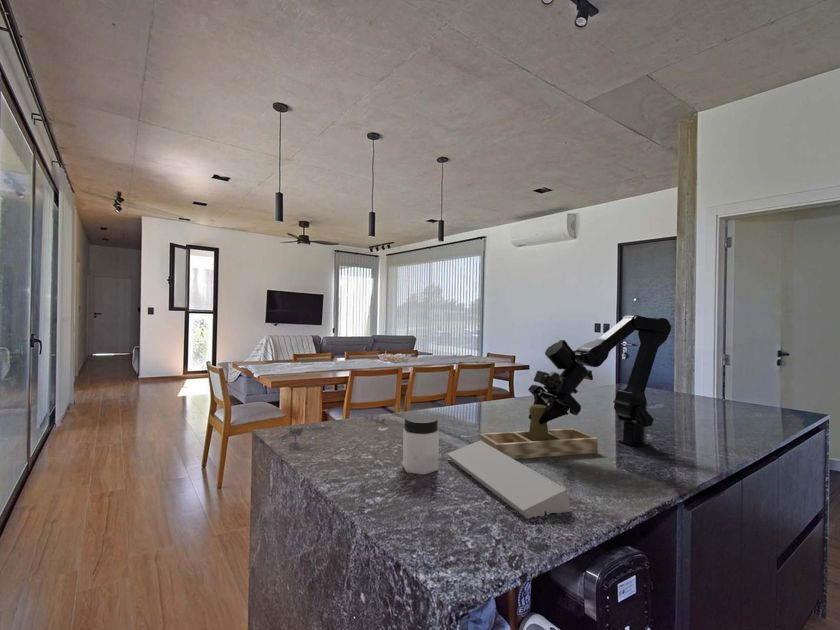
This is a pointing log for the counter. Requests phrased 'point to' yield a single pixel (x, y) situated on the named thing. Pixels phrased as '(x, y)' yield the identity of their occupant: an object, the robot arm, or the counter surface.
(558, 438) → the spice rack
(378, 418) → the counter surface
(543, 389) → the robot arm
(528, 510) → the decorative molding
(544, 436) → the olive pepper mill
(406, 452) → the jar
